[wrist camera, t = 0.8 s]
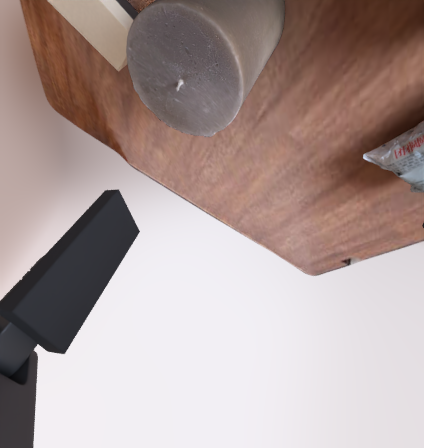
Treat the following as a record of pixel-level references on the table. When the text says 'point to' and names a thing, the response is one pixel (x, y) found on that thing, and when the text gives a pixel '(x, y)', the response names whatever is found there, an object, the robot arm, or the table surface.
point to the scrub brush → (101, 25)
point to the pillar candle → (201, 58)
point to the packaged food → (403, 157)
